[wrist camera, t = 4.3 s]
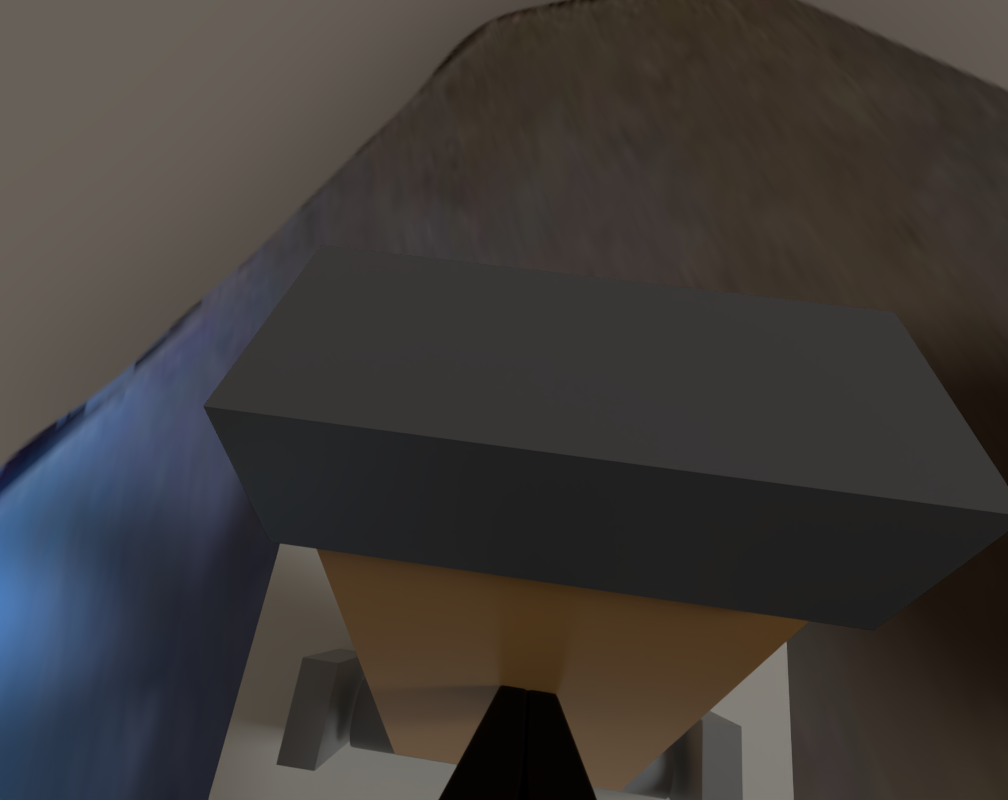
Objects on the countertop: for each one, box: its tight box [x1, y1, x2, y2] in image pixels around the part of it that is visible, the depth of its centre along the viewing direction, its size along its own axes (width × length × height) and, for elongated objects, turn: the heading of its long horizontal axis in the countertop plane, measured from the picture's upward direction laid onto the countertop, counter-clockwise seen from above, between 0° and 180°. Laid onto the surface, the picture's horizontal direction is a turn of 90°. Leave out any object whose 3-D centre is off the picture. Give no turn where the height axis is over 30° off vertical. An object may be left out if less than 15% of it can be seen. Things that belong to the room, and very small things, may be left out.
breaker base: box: [208, 544, 794, 800], centre depth 14 cm, size 11×14×5 cm
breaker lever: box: [204, 245, 1008, 799], centre depth 9 cm, size 2×7×12 cm, turn 82°
